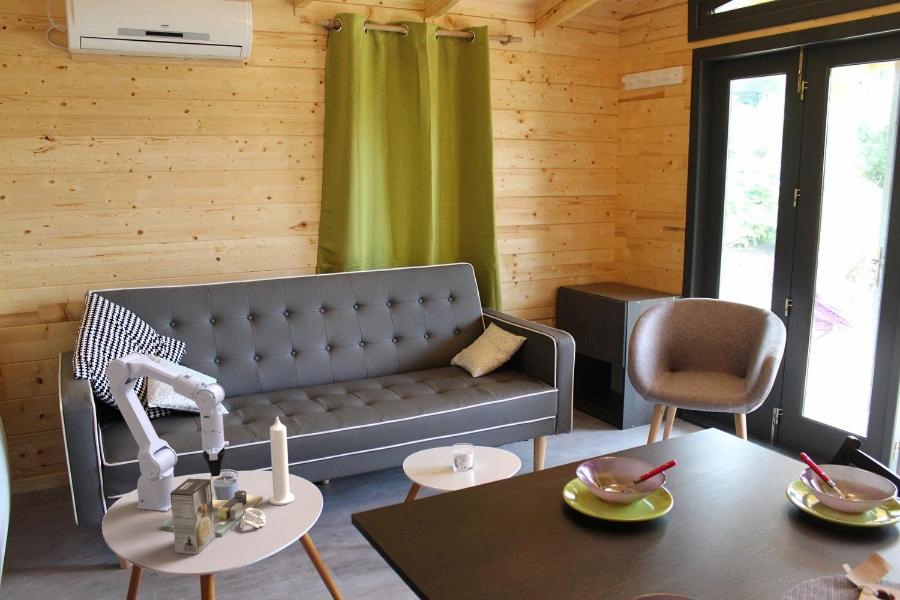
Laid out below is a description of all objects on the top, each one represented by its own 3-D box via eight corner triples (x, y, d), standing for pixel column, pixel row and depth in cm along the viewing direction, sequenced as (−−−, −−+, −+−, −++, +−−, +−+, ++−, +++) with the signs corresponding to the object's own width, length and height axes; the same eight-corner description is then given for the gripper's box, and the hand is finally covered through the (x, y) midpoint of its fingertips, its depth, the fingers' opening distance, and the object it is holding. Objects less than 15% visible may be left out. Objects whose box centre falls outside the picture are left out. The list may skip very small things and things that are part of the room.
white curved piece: (241, 522, 206) (238, 505, 206) (266, 517, 208) (263, 500, 207) (240, 534, 199) (237, 517, 198) (266, 529, 200) (263, 511, 199)
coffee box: (193, 535, 197) (188, 477, 195) (216, 537, 196) (211, 478, 193) (174, 553, 189) (169, 492, 186) (198, 555, 187) (193, 494, 185)
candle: (269, 496, 220) (264, 413, 216) (293, 493, 222) (289, 411, 217) (269, 506, 213) (264, 421, 209) (294, 503, 215) (290, 419, 211)
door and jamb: (160, 529, 201) (159, 515, 200) (206, 493, 222) (205, 481, 221) (221, 536, 197) (220, 522, 196) (262, 499, 218) (261, 486, 217)
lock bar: (238, 500, 215) (237, 490, 214) (248, 501, 214) (248, 491, 213) (216, 518, 204) (216, 508, 203) (227, 519, 203) (227, 509, 202)
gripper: (227, 435, 203) (230, 483, 205) (227, 418, 216) (230, 463, 219) (199, 438, 201) (203, 487, 203) (201, 421, 214) (204, 466, 217)
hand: (215, 475), depth 211 cm, fingers closed
